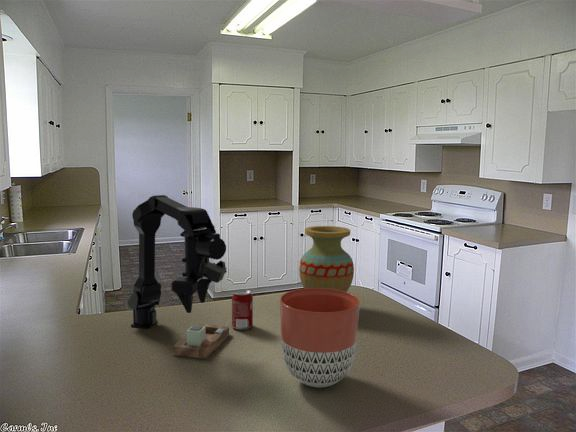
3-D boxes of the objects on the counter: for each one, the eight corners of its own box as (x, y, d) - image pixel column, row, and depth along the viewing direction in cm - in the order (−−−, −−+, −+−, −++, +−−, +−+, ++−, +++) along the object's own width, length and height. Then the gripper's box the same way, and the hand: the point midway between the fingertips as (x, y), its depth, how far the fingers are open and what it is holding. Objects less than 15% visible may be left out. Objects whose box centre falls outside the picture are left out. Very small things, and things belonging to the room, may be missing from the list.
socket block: (173, 354, 130) (173, 345, 129) (199, 331, 147) (199, 322, 147) (206, 358, 127) (206, 348, 127) (229, 334, 145) (229, 325, 144)
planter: (298, 409, 103) (300, 317, 100) (267, 371, 121) (268, 292, 118) (372, 392, 111) (375, 306, 108) (332, 359, 128) (334, 284, 125)
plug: (187, 350, 131) (186, 329, 131) (192, 345, 135) (192, 324, 134) (200, 352, 131) (199, 330, 130) (205, 346, 134) (205, 325, 134)
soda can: (249, 331, 147) (249, 295, 146) (229, 330, 149) (229, 294, 147) (254, 324, 154) (255, 289, 152) (235, 322, 155) (235, 288, 154)
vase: (364, 312, 167) (367, 231, 163) (320, 323, 155) (323, 236, 151) (329, 298, 183) (331, 223, 179) (287, 307, 172) (289, 227, 168)
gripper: (209, 263, 118) (209, 321, 120) (233, 248, 136) (233, 299, 138) (169, 260, 121) (170, 317, 123) (198, 246, 139) (199, 297, 141)
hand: (196, 307), depth 131 cm, fingers open, 9 cm apart
